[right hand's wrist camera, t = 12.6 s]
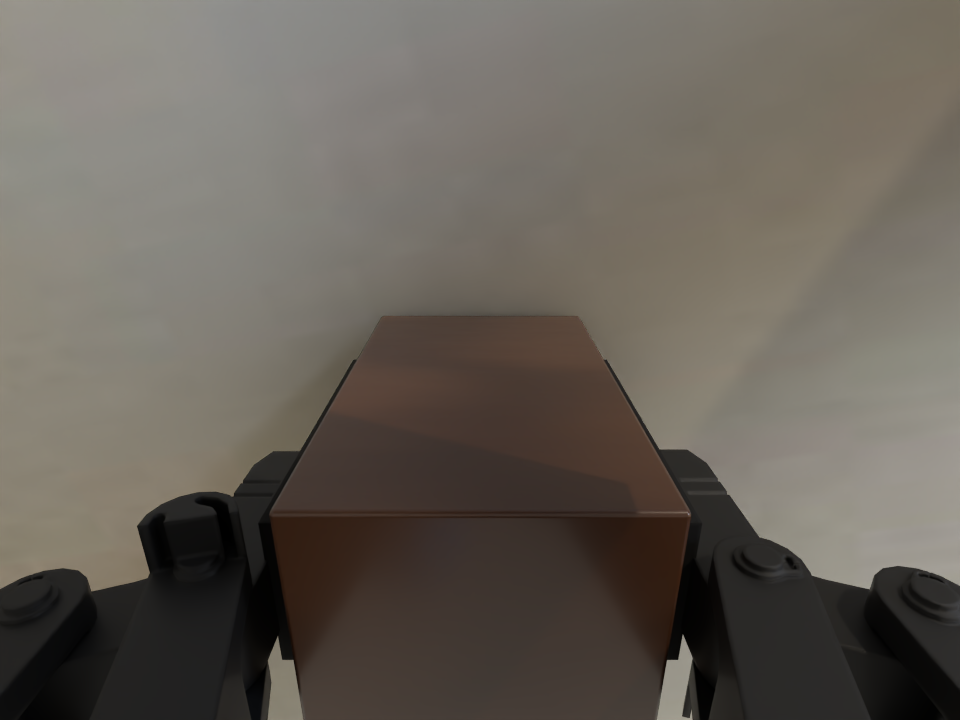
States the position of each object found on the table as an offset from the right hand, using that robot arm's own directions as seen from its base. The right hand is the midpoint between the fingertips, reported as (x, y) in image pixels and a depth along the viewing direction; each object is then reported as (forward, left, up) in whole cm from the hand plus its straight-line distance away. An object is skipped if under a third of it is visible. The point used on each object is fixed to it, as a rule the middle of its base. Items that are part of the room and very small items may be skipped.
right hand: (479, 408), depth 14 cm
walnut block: (0, 0, 0) cm, 0 cm away
